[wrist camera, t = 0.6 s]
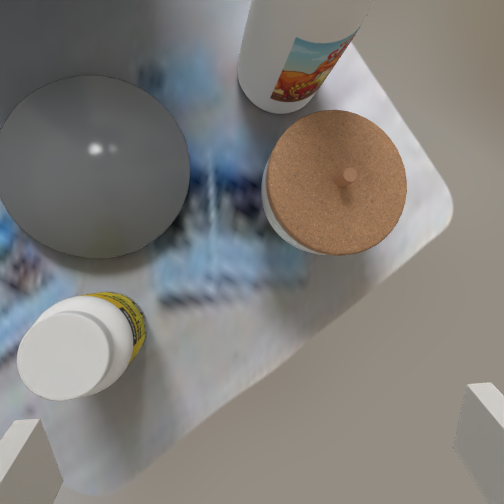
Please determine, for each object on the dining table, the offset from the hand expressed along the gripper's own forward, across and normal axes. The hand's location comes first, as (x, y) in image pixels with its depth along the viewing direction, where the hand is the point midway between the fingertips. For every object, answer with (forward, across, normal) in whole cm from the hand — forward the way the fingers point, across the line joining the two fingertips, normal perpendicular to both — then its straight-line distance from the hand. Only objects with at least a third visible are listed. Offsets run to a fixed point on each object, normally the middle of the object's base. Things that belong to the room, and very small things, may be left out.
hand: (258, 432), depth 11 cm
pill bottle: (+18, -12, -7) cm, 22 cm away
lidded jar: (+24, +6, +1) cm, 25 cm away
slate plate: (+23, -12, +5) cm, 27 cm away
